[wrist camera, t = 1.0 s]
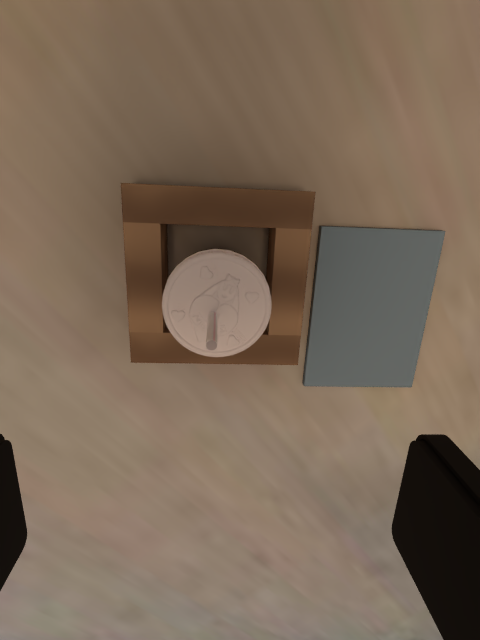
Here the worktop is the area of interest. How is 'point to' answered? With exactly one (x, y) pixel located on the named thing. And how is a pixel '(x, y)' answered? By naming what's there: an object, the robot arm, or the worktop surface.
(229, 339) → the smoothie
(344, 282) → the mat
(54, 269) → the worktop surface
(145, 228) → the wooden square frame
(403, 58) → the worktop surface
